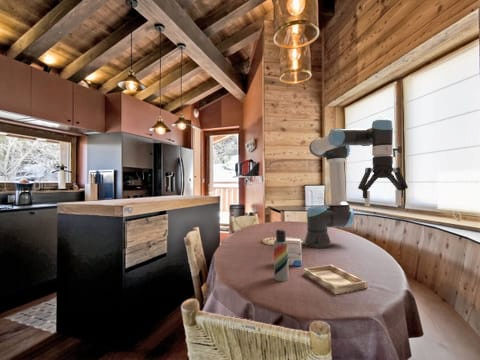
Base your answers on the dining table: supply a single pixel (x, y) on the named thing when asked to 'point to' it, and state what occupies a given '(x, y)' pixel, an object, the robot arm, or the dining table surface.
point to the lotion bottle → (281, 256)
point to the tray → (335, 279)
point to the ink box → (294, 252)
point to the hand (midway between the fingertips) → (382, 205)
